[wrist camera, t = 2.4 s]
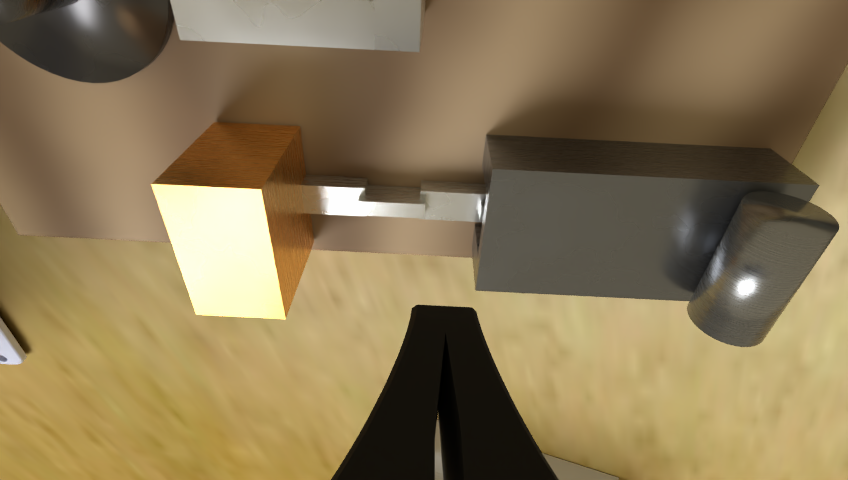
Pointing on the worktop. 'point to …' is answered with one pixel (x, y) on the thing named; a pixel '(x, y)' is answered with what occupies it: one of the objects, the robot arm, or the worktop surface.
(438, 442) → the light grey piece
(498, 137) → the chain housing
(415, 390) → the robot arm
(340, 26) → the grey recessed block
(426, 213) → the chain slider
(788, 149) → the deck plank
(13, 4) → the post
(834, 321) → the worktop surface
